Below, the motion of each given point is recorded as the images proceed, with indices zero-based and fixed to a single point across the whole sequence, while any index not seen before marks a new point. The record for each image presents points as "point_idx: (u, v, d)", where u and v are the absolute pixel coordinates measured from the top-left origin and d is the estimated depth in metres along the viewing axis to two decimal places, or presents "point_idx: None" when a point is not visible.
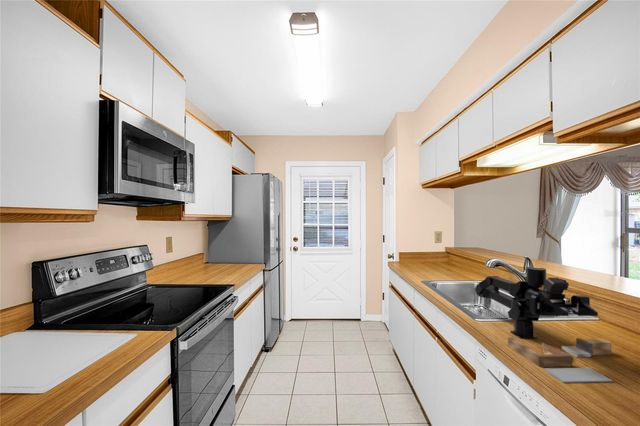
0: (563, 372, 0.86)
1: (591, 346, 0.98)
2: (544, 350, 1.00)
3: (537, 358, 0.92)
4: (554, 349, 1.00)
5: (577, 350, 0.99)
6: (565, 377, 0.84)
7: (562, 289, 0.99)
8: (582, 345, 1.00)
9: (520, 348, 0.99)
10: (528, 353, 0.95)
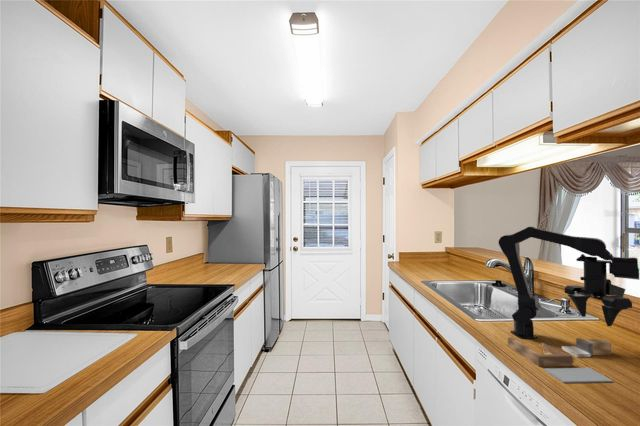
0: (563, 372, 0.86)
1: (591, 346, 0.98)
2: (544, 350, 1.00)
3: (537, 358, 0.92)
4: (554, 349, 1.00)
5: (577, 350, 0.99)
6: (565, 377, 0.84)
7: None
8: (582, 345, 1.00)
9: (520, 348, 0.99)
10: (528, 353, 0.95)
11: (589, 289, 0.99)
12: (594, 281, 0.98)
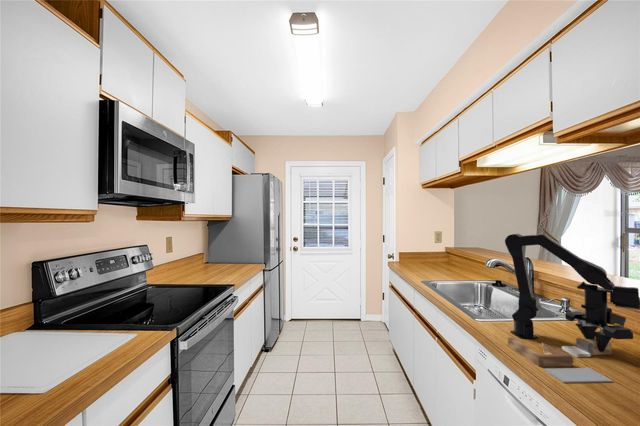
0: (563, 372, 0.86)
1: (591, 346, 0.98)
2: (544, 350, 1.00)
3: (537, 358, 0.92)
4: (554, 349, 1.00)
5: (577, 350, 0.99)
6: (565, 377, 0.84)
7: None
8: (582, 345, 1.00)
9: (520, 348, 0.99)
10: (528, 353, 0.95)
11: (590, 318, 0.99)
12: (595, 310, 0.98)
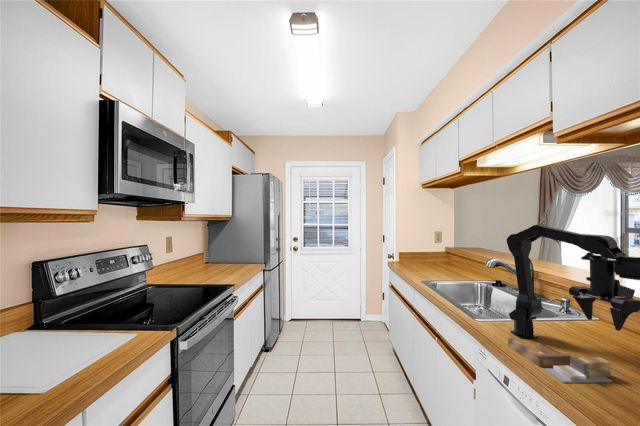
0: None
1: (587, 367, 0.83)
2: (536, 350, 1.00)
3: (537, 358, 0.92)
4: (547, 349, 1.00)
5: (571, 371, 0.85)
6: (565, 377, 0.84)
7: None
8: (577, 365, 0.86)
9: (520, 348, 0.99)
10: (528, 353, 0.95)
11: (596, 291, 0.92)
12: (601, 282, 0.91)
